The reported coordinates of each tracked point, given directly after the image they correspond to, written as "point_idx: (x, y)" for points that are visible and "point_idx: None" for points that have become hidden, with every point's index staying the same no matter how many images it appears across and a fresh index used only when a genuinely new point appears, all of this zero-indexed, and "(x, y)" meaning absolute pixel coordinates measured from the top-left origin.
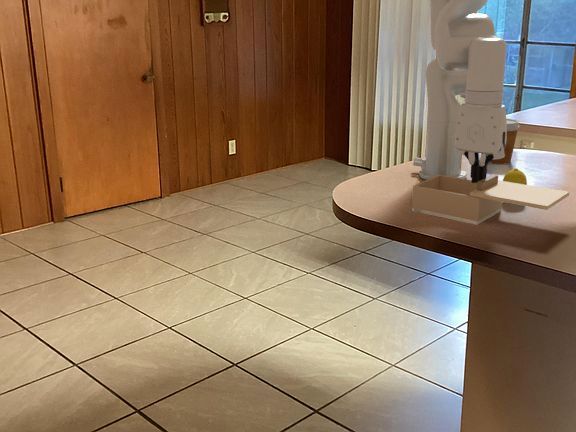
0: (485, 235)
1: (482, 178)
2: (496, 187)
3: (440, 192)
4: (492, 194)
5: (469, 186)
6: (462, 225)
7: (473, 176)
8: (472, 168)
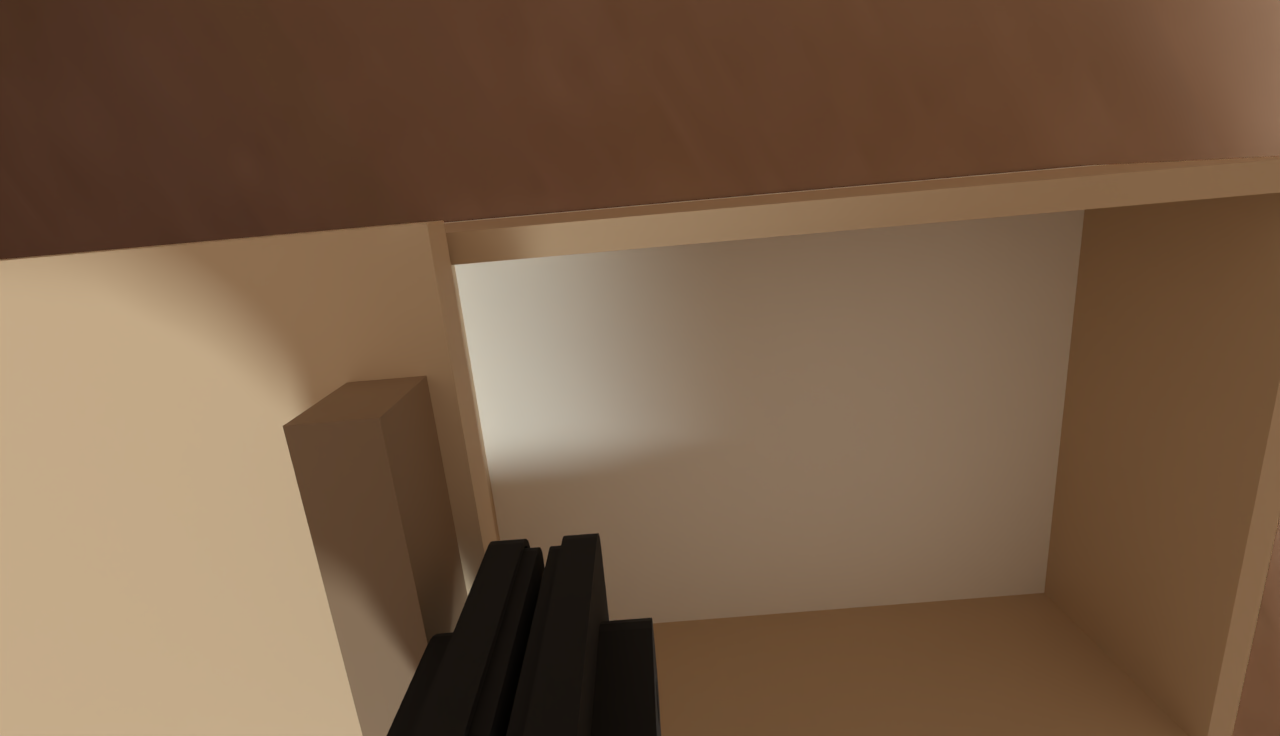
0: (216, 18)
1: (441, 633)
2: (325, 636)
3: (892, 192)
4: (134, 329)
5: (805, 723)
6: (519, 124)
7: (558, 587)
8: (575, 694)
